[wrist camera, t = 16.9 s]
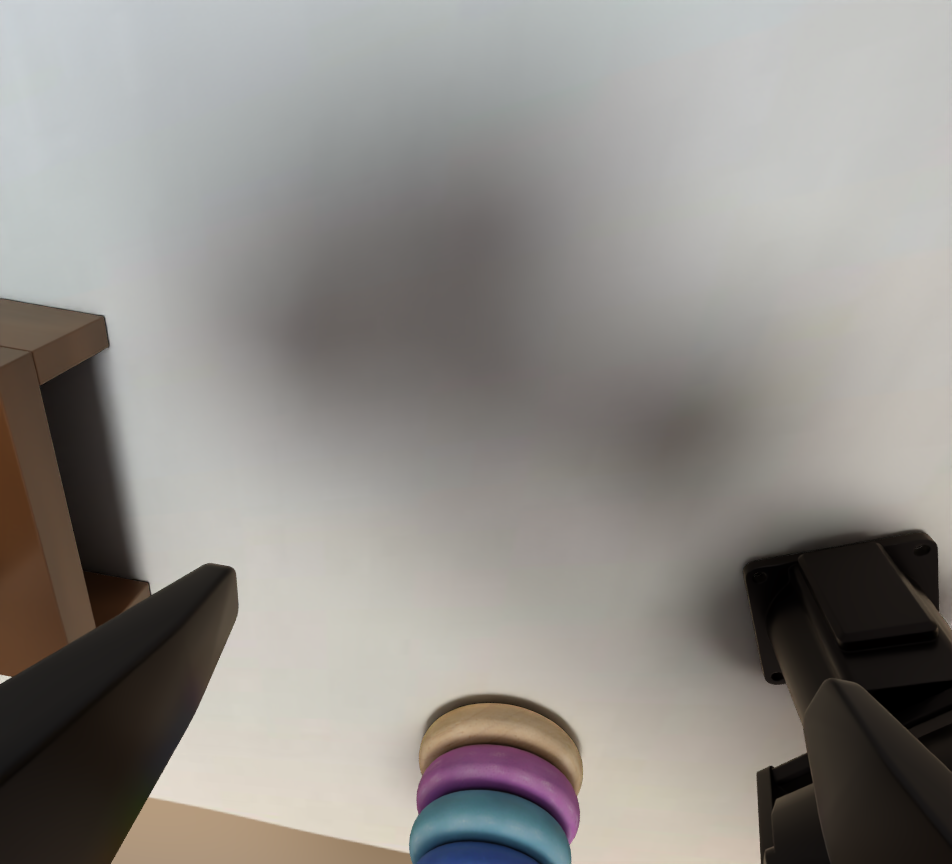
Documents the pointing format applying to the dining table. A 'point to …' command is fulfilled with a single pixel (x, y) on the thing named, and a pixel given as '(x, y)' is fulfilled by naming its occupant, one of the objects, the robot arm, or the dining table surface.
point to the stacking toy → (496, 789)
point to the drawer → (43, 495)
